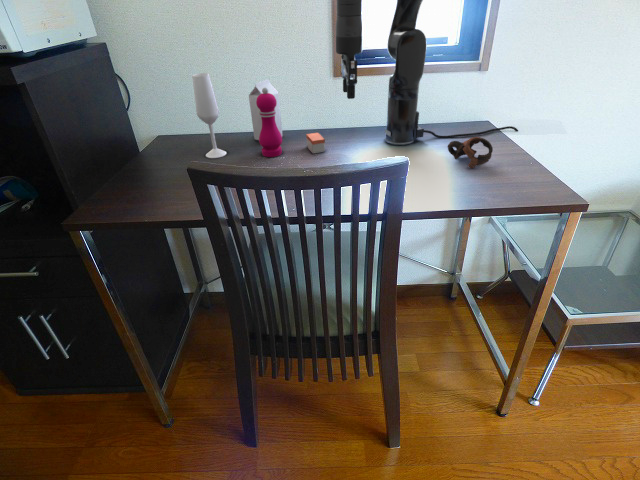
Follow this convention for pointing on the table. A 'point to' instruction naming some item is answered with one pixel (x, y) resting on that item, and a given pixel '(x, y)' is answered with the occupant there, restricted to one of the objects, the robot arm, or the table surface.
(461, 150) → the brown looped ring
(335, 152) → the table surface
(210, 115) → the champagne flute
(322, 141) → the sushi
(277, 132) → the pepper mill
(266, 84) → the milk carton
